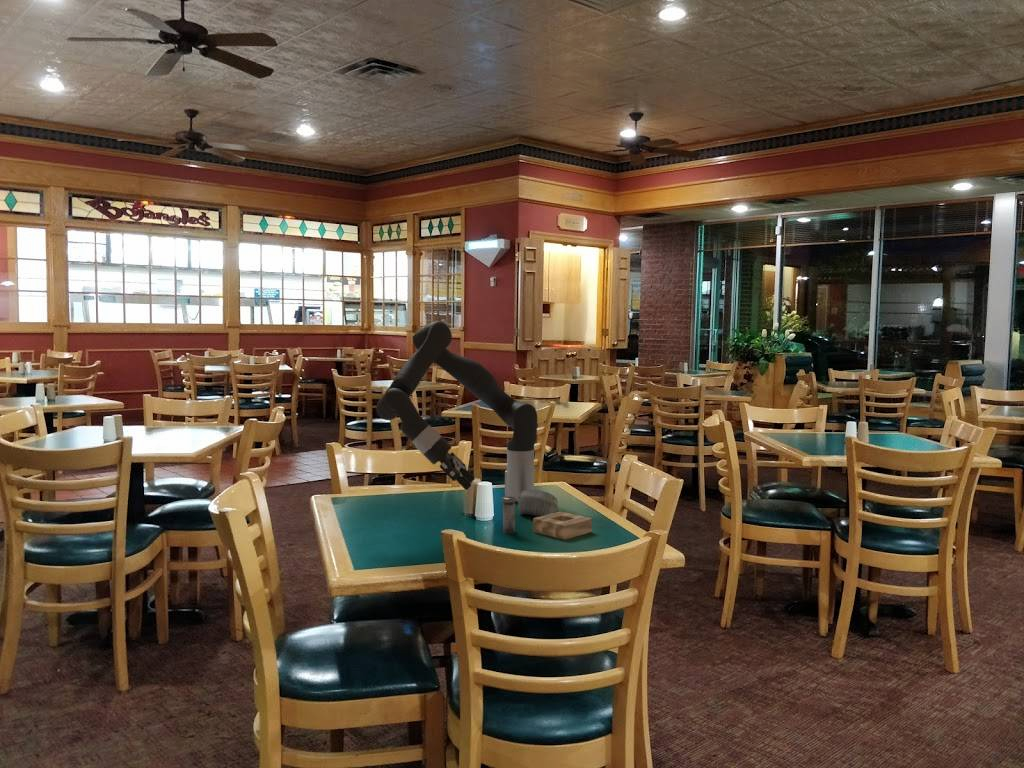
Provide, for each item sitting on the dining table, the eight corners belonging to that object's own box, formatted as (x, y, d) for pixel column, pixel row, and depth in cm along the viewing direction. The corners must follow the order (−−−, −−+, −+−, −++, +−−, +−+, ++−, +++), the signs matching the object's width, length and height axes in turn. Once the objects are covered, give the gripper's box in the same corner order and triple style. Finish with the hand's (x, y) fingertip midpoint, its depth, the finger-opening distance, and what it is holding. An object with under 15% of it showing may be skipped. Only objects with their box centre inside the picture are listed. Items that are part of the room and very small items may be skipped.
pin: (498, 531, 239) (498, 498, 238) (508, 529, 242) (509, 495, 241) (509, 534, 236) (509, 500, 235) (519, 531, 239) (519, 498, 238)
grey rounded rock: (506, 504, 258) (522, 477, 259) (524, 513, 265) (539, 486, 266) (535, 523, 249) (551, 494, 250) (552, 531, 256) (568, 503, 256)
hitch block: (533, 531, 239) (533, 518, 238) (560, 524, 247) (560, 511, 247) (564, 539, 230) (564, 525, 230) (591, 531, 239) (591, 518, 239)
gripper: (427, 449, 246) (465, 487, 246) (418, 458, 231) (458, 498, 232) (444, 432, 245) (482, 470, 245) (436, 439, 230) (477, 480, 231)
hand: (470, 484), depth 238 cm, fingers open, 8 cm apart
